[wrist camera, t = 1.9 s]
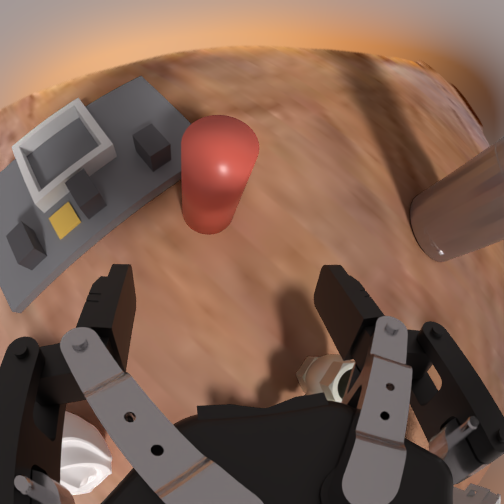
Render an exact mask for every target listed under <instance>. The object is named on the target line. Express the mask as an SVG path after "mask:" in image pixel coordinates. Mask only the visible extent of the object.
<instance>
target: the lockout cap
mask: <svg viewBox="0 0 504 504" xmlns="http://www.w3.org/2000/svg"><path fill="white" fill-rule="evenodd" d="M258 154H259V142H258V139H257V137H256V135H255V133H254V132H253V130H252V129H251V128H250V127H249V126H248V125H246V124H245V123H244V122H242V121H240V120H238V119H236V118H233V117H230V116H224V115H212V116H207V117H203V118H201V119H199V120H197V121H195V122H193V123H192V124H191V125H190V126H189V127H188V128H187V129H186V131H185V132H184V134H183V137H182V141H181V180H182V212H183V217H184V220H185V222H186V223H187V225H188V226H189V227H190V228H191V229H193V230H194V231H196V232H198V233H201V234H215V233H218V232H221V231H222V230H224V229H225V228H226V227H227V226H228V225H229V224H230V222H231V220H232V218H233V216H234V213H235V211H236V208H237V206H238V203H239V201H240V198H241V196H242V193H243V191H244V189H245V186H246V184H247V181H248V179H249V176H250V174H251V172H252V169H253V167H254V164H255V162H256V160H257V157H258Z"/></svg>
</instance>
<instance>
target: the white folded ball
mask: <svg viewBox="0 0 504 504" xmlns="http://www.w3.org/2000/svg"><path fill="white" fill-rule="evenodd" d="M111 461H112V455H111V452H110V450H109V448H108V445H107V443H106V442H105V440H104V438H103V436H102V435H101V433H100V432H99V431H98V429H97V428H96V427H95V426H93V425H92V424H90V423H88V422H87V421H85V420H84V419H82V418H81V417H79V416H77V415H75V414H72V413H70V412H67V411H65V418H64V427H63V437H62V449H61V469H60V484H61V485H63V486H64V487H66V488H67V489H68V490H69V492H70V493H71V494H72V495H78V494H84V493H89V492H91V491H92V490H93V489H94V487H96V486H97V485H99V484H100V483H101V482H102V481H103V480H104V479H105V478H106V477H107V476H108V475H109V474H112V468H111Z"/></svg>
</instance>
